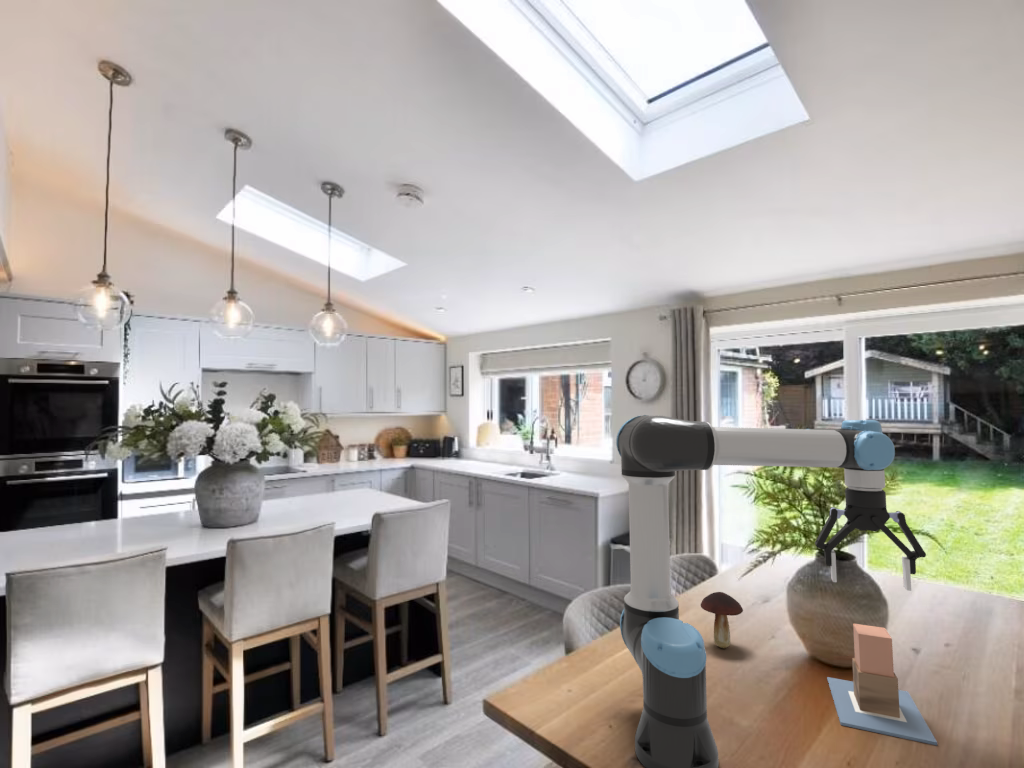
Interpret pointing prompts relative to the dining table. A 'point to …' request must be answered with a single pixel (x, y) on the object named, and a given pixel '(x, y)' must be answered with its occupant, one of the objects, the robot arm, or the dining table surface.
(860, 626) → the terracotta block
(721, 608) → the decorative mushroom
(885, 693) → the walnut block
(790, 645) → the dining table surface
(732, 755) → the dining table surface
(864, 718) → the board
